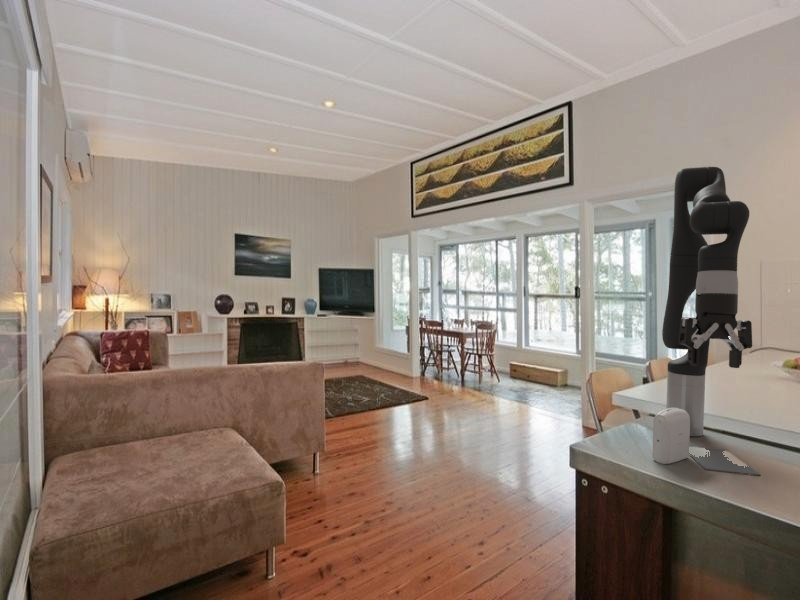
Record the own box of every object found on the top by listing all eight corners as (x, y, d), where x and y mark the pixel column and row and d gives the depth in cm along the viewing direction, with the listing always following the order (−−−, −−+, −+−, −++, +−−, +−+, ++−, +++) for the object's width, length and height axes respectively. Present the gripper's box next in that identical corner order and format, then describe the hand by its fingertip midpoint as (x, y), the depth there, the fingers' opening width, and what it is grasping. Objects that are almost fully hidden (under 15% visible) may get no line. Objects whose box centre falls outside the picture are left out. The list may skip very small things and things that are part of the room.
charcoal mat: (679, 446, 116) (679, 444, 116) (726, 450, 113) (727, 449, 113) (704, 469, 100) (704, 468, 100) (760, 475, 97) (760, 474, 97)
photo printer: (667, 466, 102) (669, 413, 102) (649, 459, 106) (651, 408, 105) (691, 458, 107) (693, 408, 107) (673, 452, 111) (675, 404, 110)
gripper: (736, 294, 100) (734, 366, 99) (673, 291, 100) (670, 363, 100) (763, 293, 92) (761, 370, 92) (694, 290, 93) (692, 367, 92)
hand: (714, 366), depth 96 cm, fingers open, 8 cm apart
